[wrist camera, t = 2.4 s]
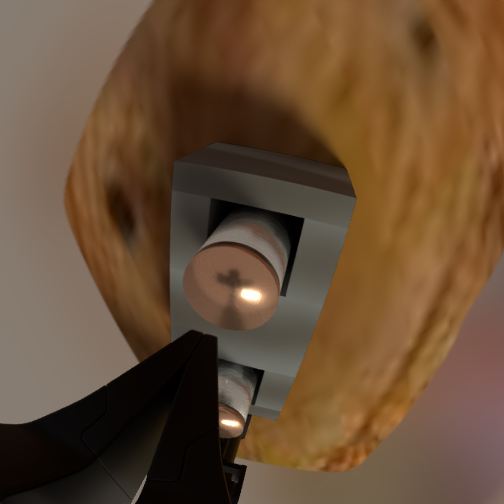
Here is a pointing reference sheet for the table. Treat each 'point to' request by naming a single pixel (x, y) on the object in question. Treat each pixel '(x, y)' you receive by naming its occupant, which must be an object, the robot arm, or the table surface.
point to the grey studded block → (299, 262)
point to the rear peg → (234, 396)
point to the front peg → (240, 269)
